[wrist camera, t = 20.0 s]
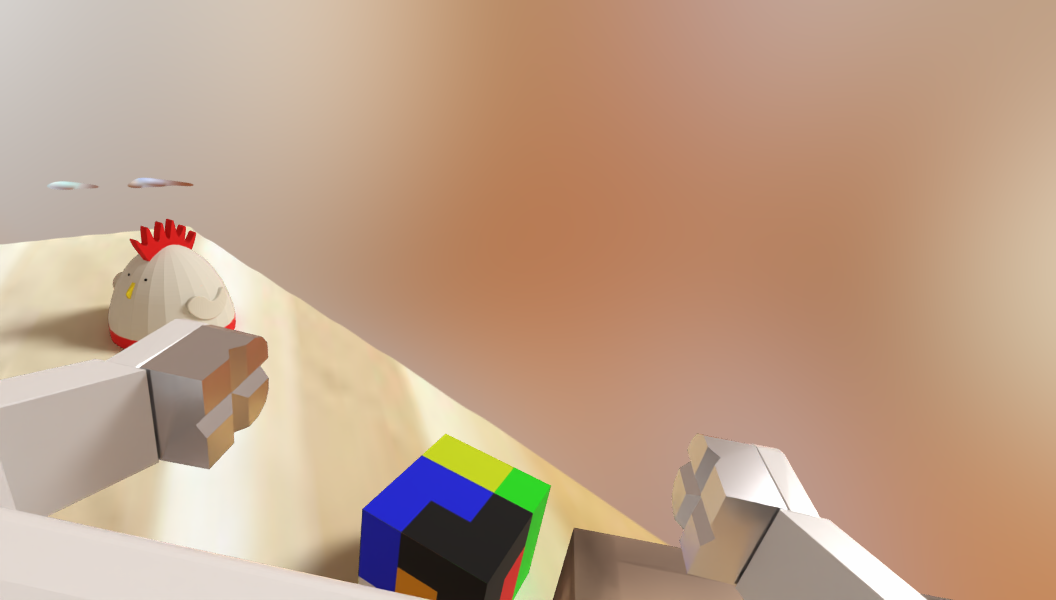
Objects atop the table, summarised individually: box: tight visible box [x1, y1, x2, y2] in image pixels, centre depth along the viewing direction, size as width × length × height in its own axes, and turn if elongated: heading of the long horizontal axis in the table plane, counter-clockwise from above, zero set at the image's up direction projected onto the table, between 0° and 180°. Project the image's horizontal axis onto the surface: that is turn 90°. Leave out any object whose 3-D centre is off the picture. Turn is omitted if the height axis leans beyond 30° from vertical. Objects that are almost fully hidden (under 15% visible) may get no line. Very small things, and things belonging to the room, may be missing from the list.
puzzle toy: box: [358, 434, 551, 600], centre depth 39 cm, size 10×10×10 cm
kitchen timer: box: [108, 219, 236, 349], centre depth 65 cm, size 14×14×15 cm
